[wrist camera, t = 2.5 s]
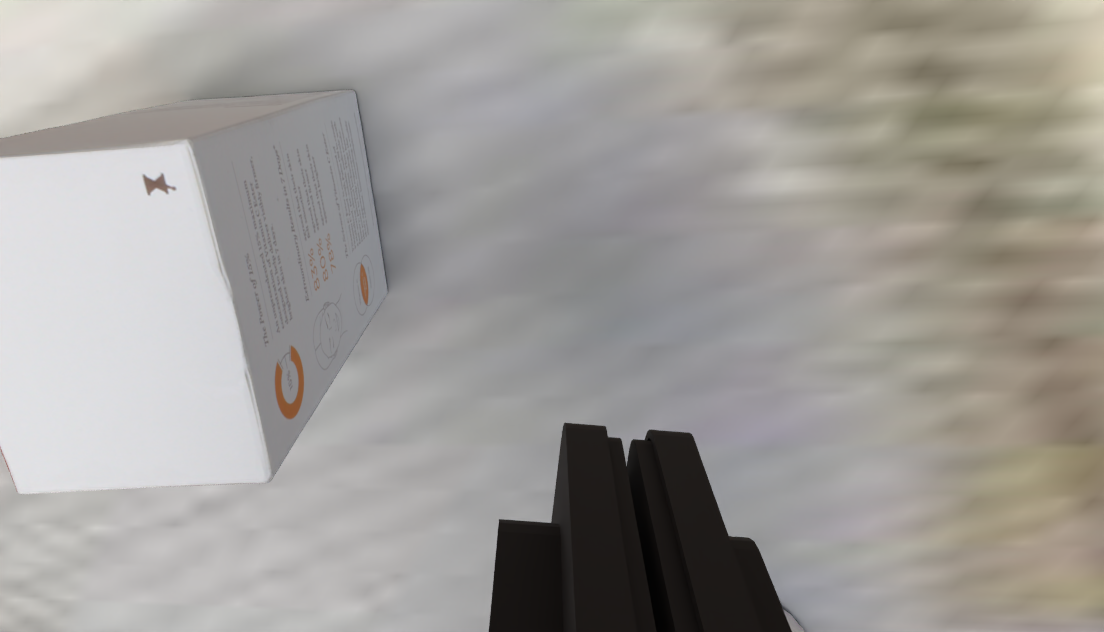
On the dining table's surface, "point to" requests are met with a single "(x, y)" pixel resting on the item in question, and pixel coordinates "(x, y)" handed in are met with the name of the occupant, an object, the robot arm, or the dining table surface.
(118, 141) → the small box
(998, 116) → the dining table surface
